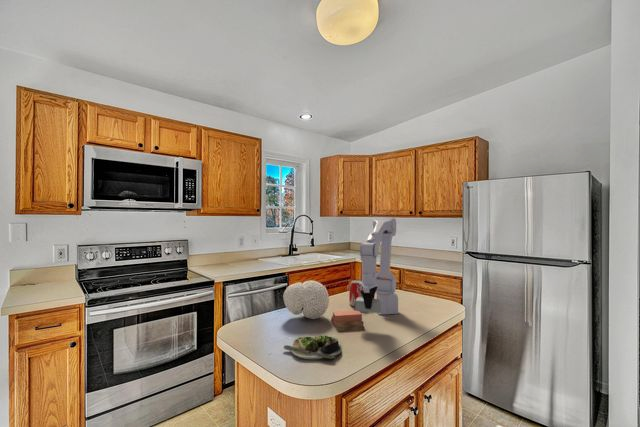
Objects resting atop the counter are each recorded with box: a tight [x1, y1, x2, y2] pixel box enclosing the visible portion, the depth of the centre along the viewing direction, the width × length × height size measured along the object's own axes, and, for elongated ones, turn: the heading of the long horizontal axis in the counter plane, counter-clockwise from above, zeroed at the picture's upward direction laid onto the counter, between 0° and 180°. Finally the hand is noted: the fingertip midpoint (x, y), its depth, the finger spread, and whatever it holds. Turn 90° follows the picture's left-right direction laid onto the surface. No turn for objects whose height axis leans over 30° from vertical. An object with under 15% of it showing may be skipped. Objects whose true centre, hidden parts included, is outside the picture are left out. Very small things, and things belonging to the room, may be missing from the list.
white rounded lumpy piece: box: [282, 279, 330, 320], centre depth 132 cm, size 20×18×16 cm
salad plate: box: [283, 334, 342, 361], centre depth 102 cm, size 19×18×5 cm
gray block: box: [354, 297, 382, 314], centre depth 121 cm, size 10×5×4 cm, turn 73°
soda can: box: [348, 279, 364, 307], centre depth 151 cm, size 7×7×12 cm
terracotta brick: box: [332, 310, 363, 326], centre depth 125 cm, size 11×5×4 cm, turn 100°
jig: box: [330, 315, 366, 332], centre depth 125 cm, size 11×12×2 cm
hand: (369, 306), depth 121 cm, fingers closed on gray block, 5 cm apart
